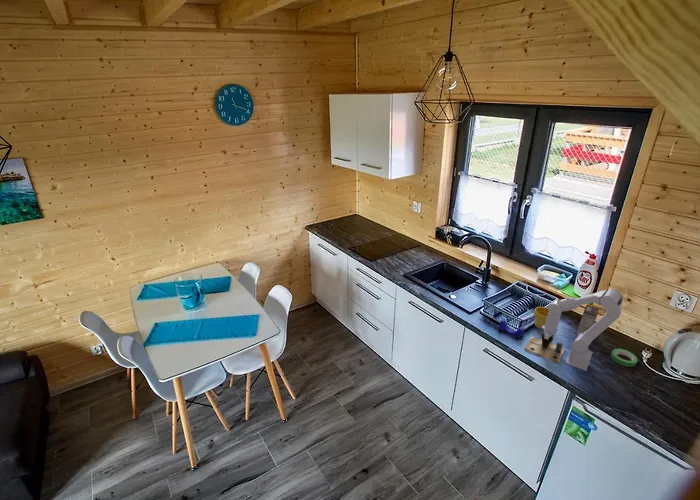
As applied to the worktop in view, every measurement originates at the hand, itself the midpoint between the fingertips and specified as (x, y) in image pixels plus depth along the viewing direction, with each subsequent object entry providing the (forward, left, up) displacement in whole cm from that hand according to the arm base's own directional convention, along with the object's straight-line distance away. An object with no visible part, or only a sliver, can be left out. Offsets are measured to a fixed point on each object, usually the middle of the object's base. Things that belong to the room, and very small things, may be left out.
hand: (546, 343), depth 209 cm
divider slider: (0, +2, -2) cm, 3 cm away
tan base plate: (0, +2, -3) cm, 4 cm away
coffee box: (-14, -27, -4) cm, 31 cm away
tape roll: (-34, -16, -4) cm, 38 cm away
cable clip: (+19, -3, -4) cm, 20 cm away
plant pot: (+7, -20, -4) cm, 21 cm away
